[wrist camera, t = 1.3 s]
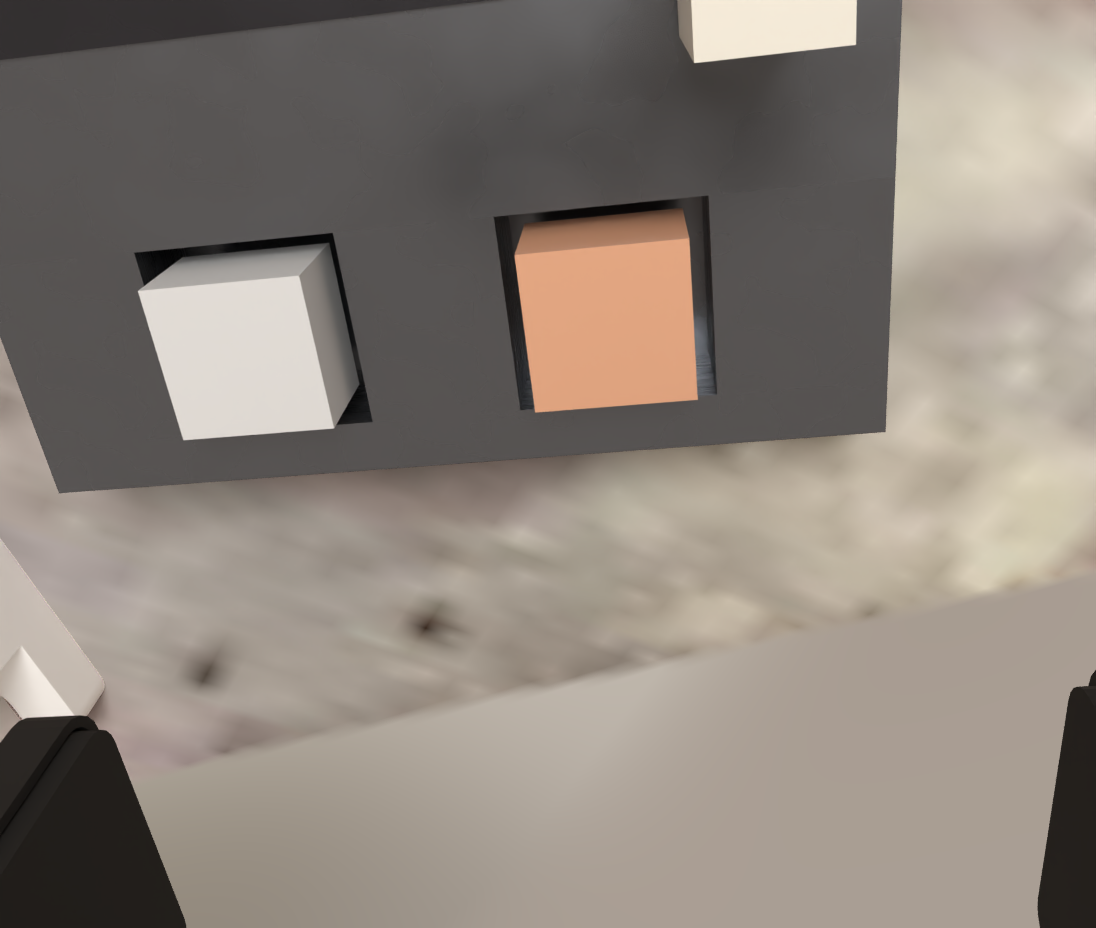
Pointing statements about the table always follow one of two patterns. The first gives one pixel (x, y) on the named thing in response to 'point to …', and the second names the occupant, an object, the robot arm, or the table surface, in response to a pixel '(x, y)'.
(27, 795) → the robot arm
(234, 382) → the grey key
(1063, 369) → the table surface
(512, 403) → the control panel
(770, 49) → the cream tall block
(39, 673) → the cable organizer
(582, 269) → the terracotta key
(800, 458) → the table surface
